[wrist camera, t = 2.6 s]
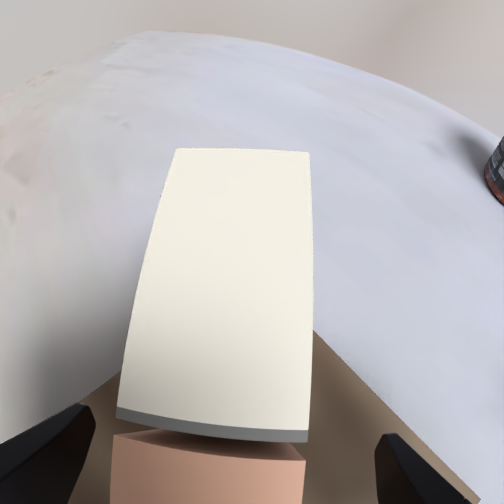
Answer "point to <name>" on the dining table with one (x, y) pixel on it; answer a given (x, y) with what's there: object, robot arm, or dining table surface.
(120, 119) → the dining table surface
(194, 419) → the white rectangular block
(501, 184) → the supplement bottle
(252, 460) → the salmon pink tall block
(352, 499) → the brown square mat
